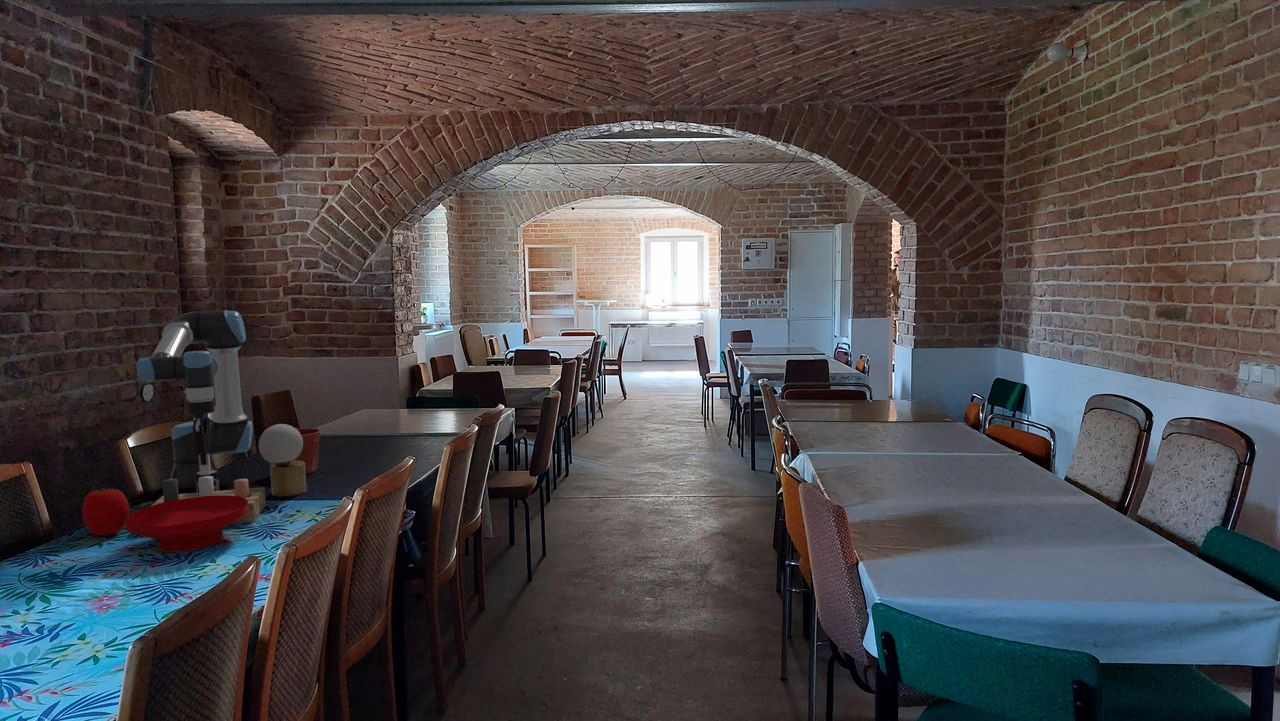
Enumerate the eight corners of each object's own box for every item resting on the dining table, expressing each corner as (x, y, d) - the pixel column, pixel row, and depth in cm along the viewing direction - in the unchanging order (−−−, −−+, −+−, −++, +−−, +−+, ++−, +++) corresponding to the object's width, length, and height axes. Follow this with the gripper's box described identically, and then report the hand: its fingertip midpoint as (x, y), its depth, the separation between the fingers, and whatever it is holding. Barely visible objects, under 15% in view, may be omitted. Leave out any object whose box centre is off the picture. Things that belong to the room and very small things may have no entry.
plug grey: (202, 504, 246) (200, 476, 245) (216, 503, 247) (214, 475, 246) (199, 507, 242) (197, 479, 241) (213, 506, 244) (211, 478, 243)
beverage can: (210, 510, 253) (208, 474, 252) (193, 509, 255) (190, 473, 254) (224, 504, 260) (222, 469, 259) (208, 503, 261) (205, 469, 260)
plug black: (166, 507, 243) (164, 479, 242) (181, 506, 244) (178, 478, 244) (162, 510, 239) (160, 482, 239) (177, 509, 241) (175, 481, 240)
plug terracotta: (237, 506, 249) (235, 479, 248) (250, 505, 250) (249, 478, 250) (234, 510, 245) (232, 482, 245) (248, 508, 247) (246, 481, 246)
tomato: (73, 537, 227) (69, 490, 226) (111, 526, 238) (107, 481, 237) (103, 541, 223) (99, 493, 222) (140, 529, 234) (137, 484, 232)
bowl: (273, 531, 230) (271, 499, 229) (183, 567, 201) (181, 529, 200) (196, 523, 240) (194, 491, 239) (100, 555, 211) (97, 519, 210)
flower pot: (312, 476, 298) (310, 435, 296) (270, 477, 298) (267, 436, 296) (330, 466, 314) (327, 427, 313) (289, 467, 314) (287, 428, 313)
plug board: (164, 513, 250) (162, 495, 250) (265, 504, 259) (264, 487, 259) (144, 531, 231) (143, 512, 231) (254, 521, 240) (253, 502, 239)
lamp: (284, 501, 263) (280, 428, 261) (252, 498, 268) (247, 427, 265) (316, 490, 277) (312, 421, 275) (285, 487, 282) (281, 419, 280)
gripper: (192, 398, 247) (197, 470, 249) (181, 403, 234) (186, 480, 236) (218, 397, 249) (223, 468, 251) (208, 402, 236) (213, 478, 239)
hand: (205, 474), depth 244 cm, fingers closed
